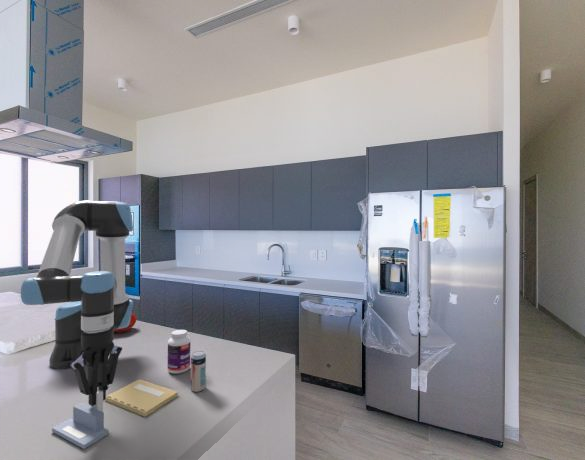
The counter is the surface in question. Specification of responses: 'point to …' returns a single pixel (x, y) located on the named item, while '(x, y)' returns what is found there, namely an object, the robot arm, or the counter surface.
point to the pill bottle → (178, 352)
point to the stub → (83, 426)
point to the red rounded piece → (132, 322)
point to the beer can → (198, 371)
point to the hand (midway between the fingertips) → (97, 414)
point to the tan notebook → (141, 397)
